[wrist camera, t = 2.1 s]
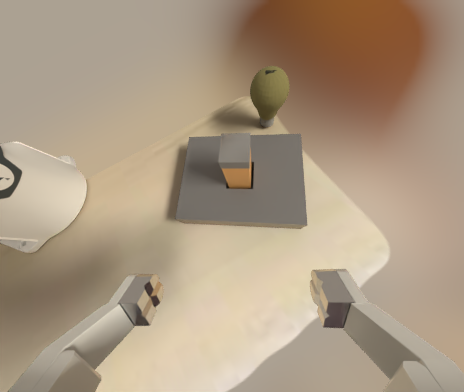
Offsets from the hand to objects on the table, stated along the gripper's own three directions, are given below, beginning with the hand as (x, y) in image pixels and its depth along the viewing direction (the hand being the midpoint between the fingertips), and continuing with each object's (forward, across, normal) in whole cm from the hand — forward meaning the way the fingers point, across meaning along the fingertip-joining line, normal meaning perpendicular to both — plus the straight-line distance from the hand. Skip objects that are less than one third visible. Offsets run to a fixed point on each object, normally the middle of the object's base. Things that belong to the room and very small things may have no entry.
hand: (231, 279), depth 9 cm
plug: (+20, 0, +2) cm, 20 cm away
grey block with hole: (+20, 0, +3) cm, 21 cm away
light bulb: (+29, -5, -5) cm, 30 cm away
